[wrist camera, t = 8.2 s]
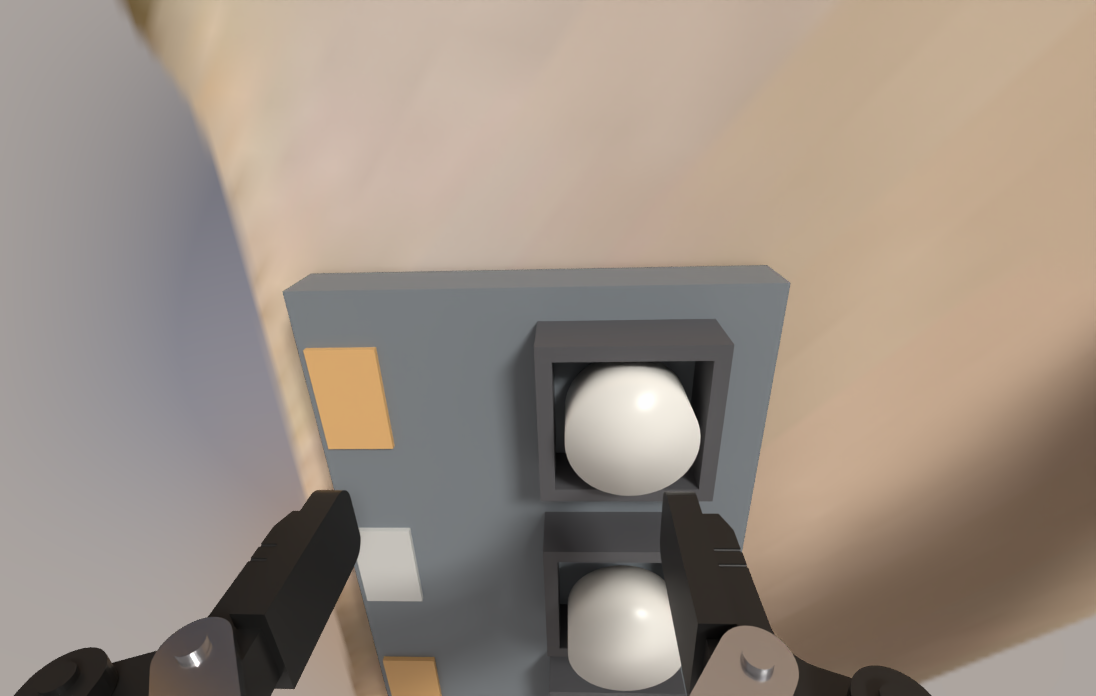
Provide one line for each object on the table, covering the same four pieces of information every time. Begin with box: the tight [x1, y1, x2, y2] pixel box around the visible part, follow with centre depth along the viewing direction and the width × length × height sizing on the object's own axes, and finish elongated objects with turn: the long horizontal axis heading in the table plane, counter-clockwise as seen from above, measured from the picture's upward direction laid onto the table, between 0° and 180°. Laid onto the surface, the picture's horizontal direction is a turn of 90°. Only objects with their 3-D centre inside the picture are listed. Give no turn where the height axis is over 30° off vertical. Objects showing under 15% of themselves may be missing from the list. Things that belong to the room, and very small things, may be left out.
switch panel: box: [283, 265, 790, 696], centre depth 21 cm, size 16×24×4 cm, turn 2°
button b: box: [568, 565, 681, 691], centre depth 18 cm, size 4×4×2 cm
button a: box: [565, 361, 701, 496], centre depth 16 cm, size 4×4×2 cm
